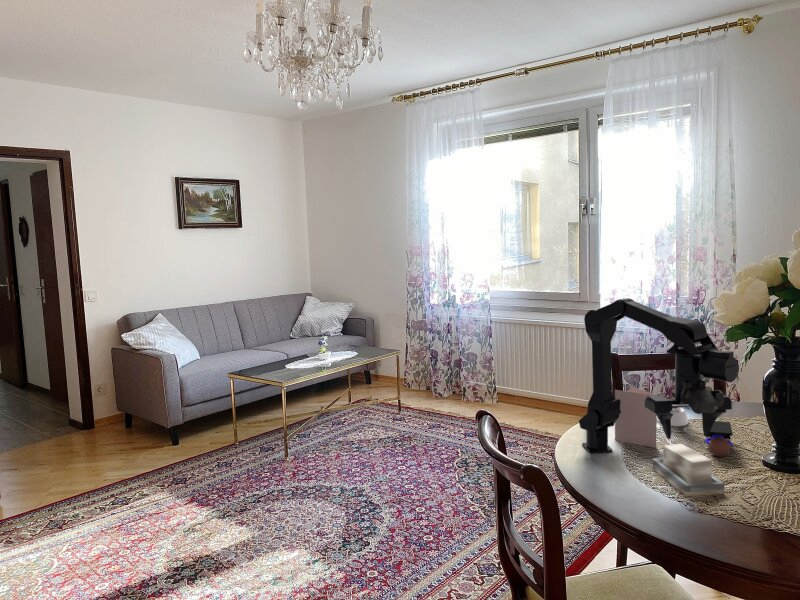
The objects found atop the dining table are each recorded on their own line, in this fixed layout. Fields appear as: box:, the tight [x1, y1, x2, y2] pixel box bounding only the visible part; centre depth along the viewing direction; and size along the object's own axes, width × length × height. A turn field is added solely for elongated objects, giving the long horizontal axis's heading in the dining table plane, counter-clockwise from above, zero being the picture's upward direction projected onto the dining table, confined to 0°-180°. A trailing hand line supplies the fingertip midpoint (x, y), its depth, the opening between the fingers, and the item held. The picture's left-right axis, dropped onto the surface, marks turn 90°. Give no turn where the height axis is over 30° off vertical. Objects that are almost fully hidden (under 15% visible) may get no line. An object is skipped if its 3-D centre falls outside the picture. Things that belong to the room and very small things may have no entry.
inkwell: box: [657, 402, 690, 427], centre depth 179 cm, size 9×18×10 cm, turn 176°
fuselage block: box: [662, 443, 713, 484], centre depth 142 cm, size 11×5×6 cm, turn 10°
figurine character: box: [703, 420, 734, 457], centre depth 161 cm, size 7×8×15 cm
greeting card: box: [614, 385, 658, 448], centre depth 167 cm, size 11×7×15 cm, turn 16°
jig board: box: [651, 457, 725, 497], centre depth 142 cm, size 16×9×2 cm, turn 3°
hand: (687, 437), depth 141 cm, fingers open, 9 cm apart
